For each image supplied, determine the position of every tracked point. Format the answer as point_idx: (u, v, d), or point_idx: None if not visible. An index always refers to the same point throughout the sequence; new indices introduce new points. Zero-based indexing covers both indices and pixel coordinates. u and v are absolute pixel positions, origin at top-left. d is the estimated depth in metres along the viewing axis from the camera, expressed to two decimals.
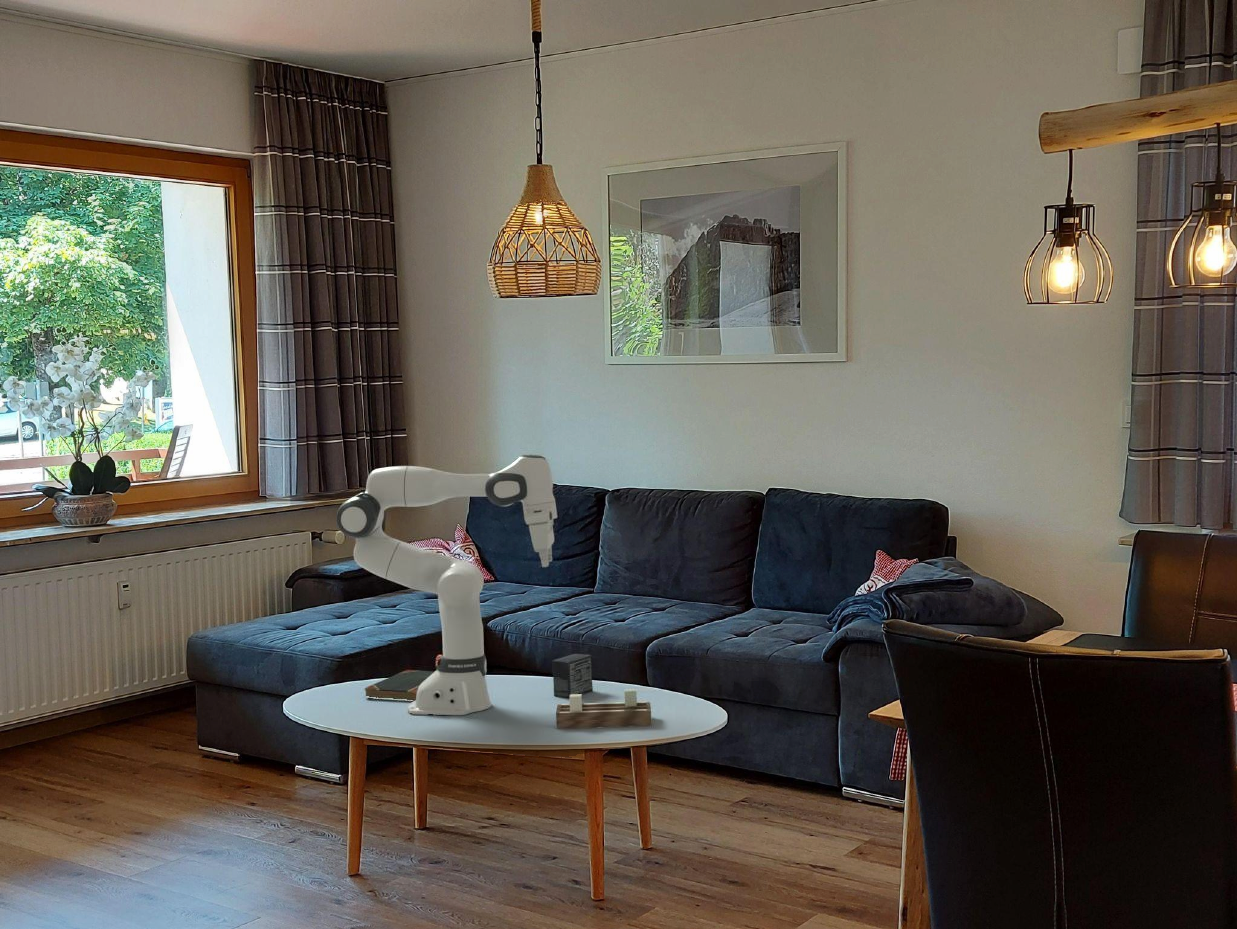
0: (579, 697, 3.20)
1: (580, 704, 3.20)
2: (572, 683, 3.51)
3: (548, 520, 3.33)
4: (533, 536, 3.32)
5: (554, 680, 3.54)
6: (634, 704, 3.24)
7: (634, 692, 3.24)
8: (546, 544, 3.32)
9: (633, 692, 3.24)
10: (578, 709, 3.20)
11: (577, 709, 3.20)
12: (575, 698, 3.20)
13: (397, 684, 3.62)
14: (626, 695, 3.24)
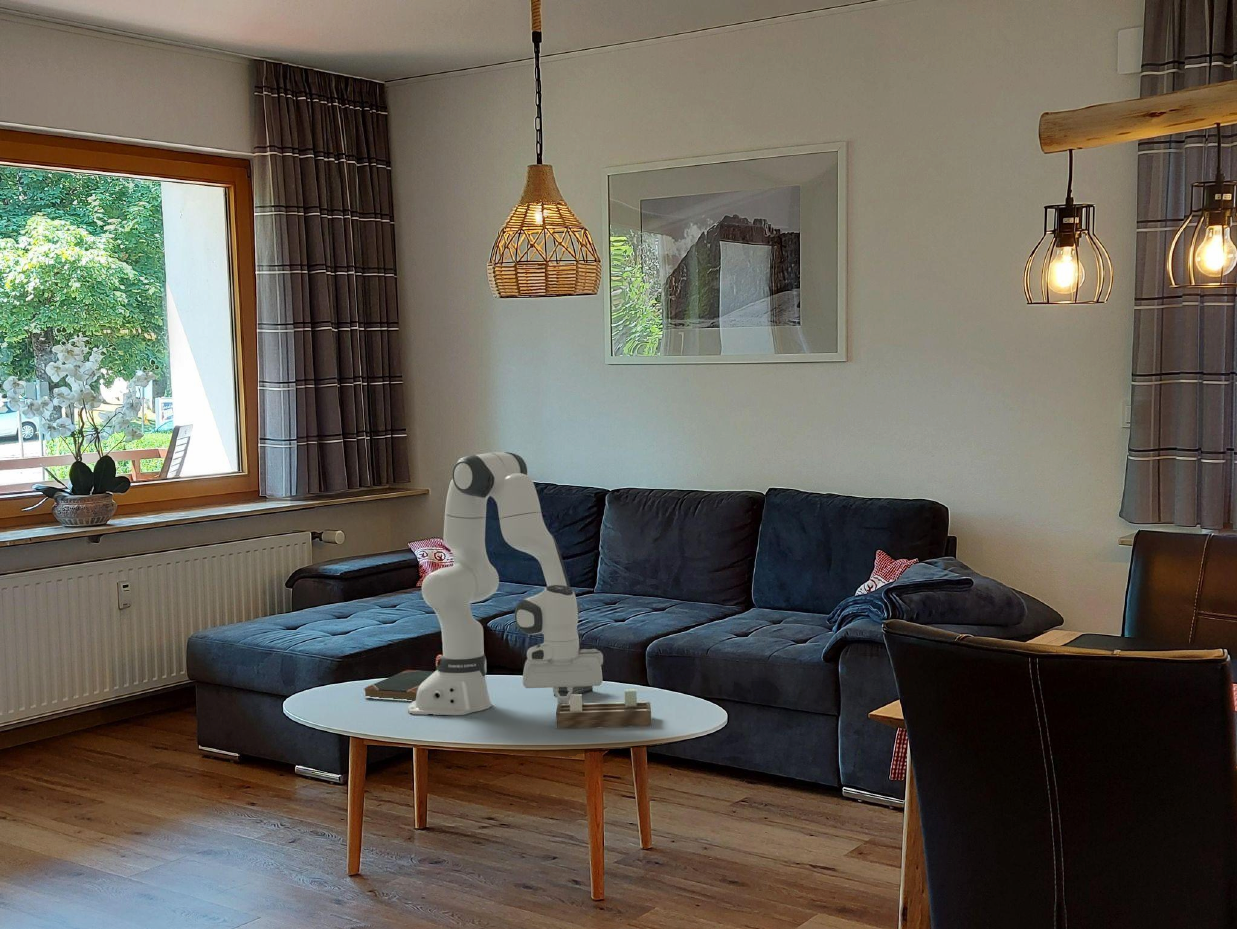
0: (579, 697, 3.20)
1: (580, 704, 3.20)
2: None
3: (528, 658, 3.18)
4: None
5: None
6: (634, 704, 3.24)
7: (634, 692, 3.24)
8: (523, 681, 3.19)
9: (633, 692, 3.24)
10: (578, 709, 3.20)
11: (577, 709, 3.20)
12: (575, 698, 3.20)
13: (397, 684, 3.62)
14: (626, 695, 3.24)
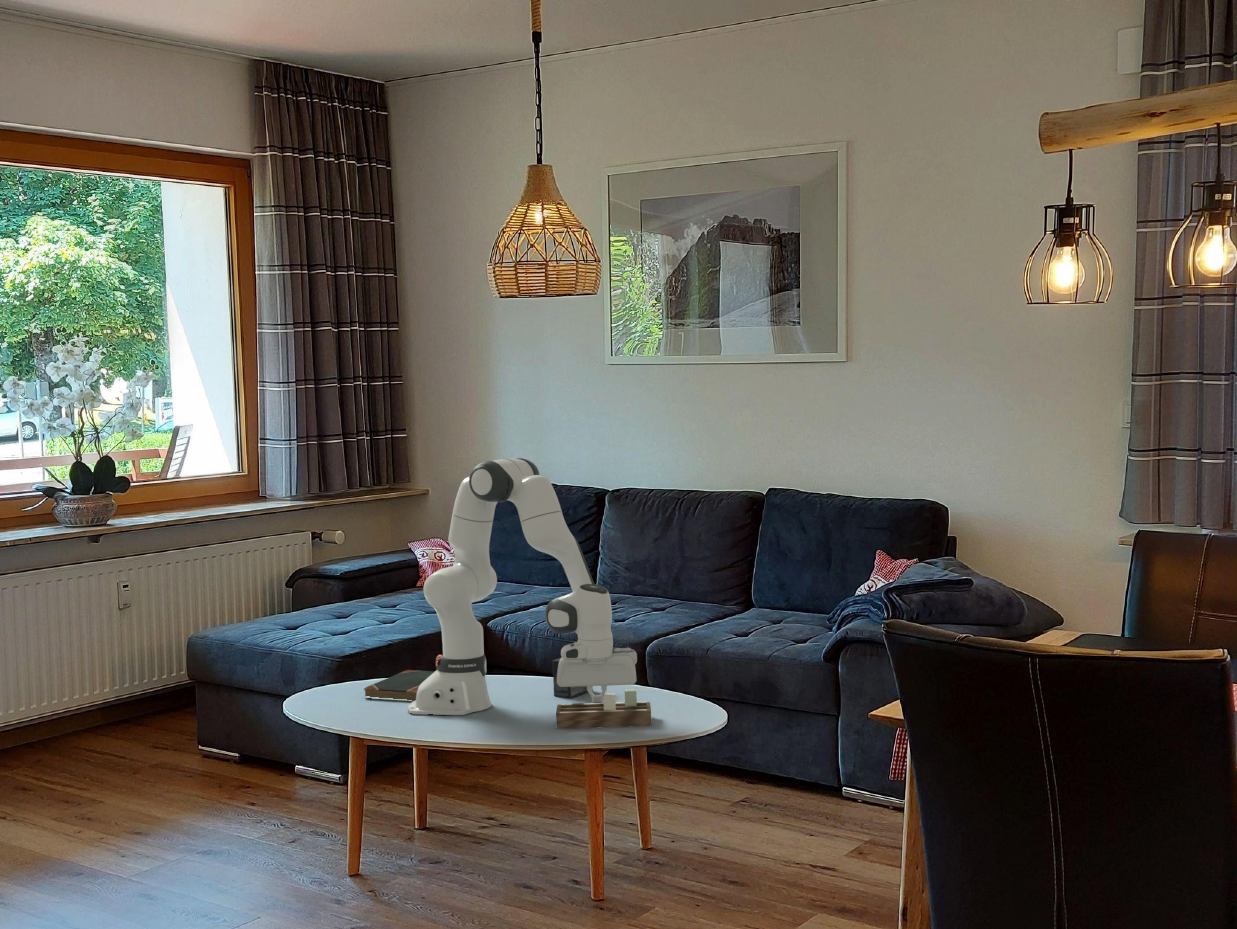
0: (613, 696, 3.20)
1: (614, 703, 3.20)
2: None
3: (562, 657, 3.18)
4: None
5: (554, 680, 3.54)
6: (634, 704, 3.24)
7: (634, 692, 3.24)
8: (557, 680, 3.19)
9: (633, 692, 3.24)
10: (612, 708, 3.20)
11: (611, 708, 3.20)
12: (609, 697, 3.20)
13: (396, 684, 3.62)
14: (626, 695, 3.24)
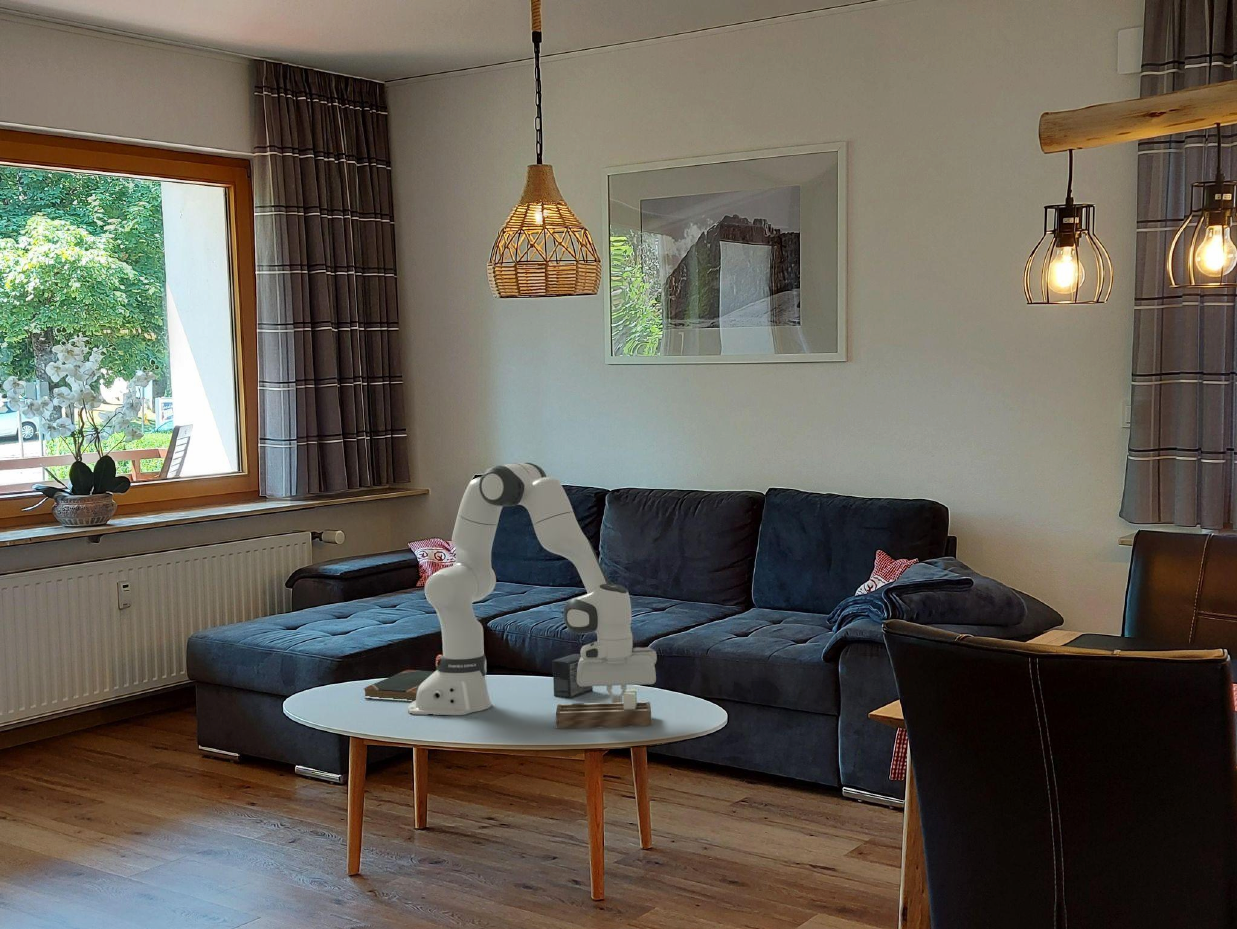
0: (633, 695, 3.20)
1: (634, 702, 3.20)
2: (572, 683, 3.51)
3: (582, 657, 3.18)
4: None
5: (554, 680, 3.54)
6: None
7: (634, 692, 3.24)
8: None
9: (633, 692, 3.24)
10: (632, 707, 3.20)
11: (631, 707, 3.20)
12: (629, 696, 3.20)
13: (396, 684, 3.62)
14: None
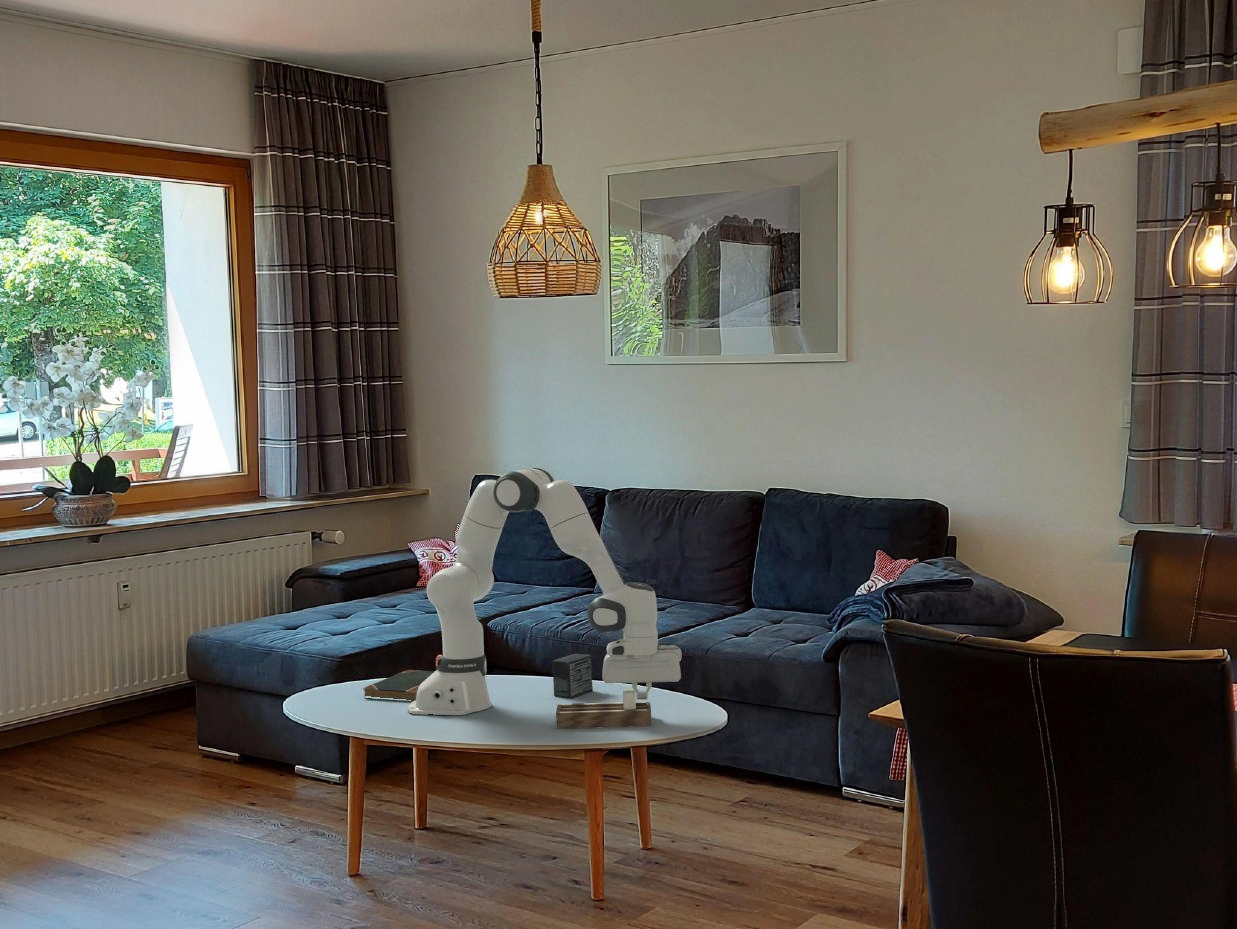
0: (633, 695, 3.20)
1: (634, 702, 3.20)
2: (572, 683, 3.51)
3: (608, 654, 3.22)
4: None
5: (554, 680, 3.54)
6: None
7: (632, 692, 3.24)
8: (602, 676, 3.24)
9: (631, 692, 3.24)
10: (632, 707, 3.20)
11: (631, 707, 3.20)
12: (629, 696, 3.20)
13: (396, 684, 3.62)
14: None
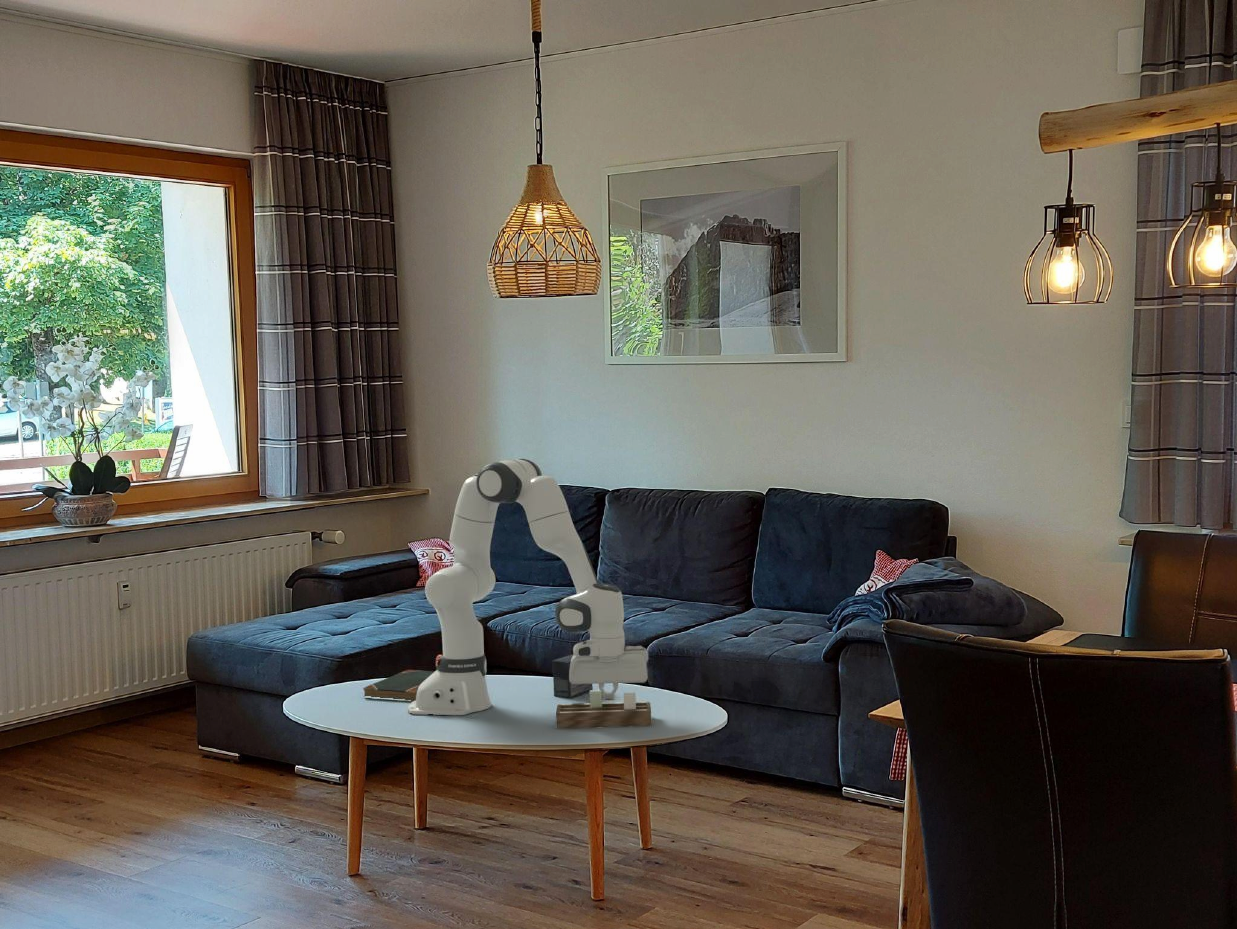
0: (633, 695, 3.20)
1: (634, 702, 3.20)
2: None
3: (574, 655, 3.22)
4: None
5: (554, 680, 3.54)
6: (599, 705, 3.24)
7: (599, 693, 3.24)
8: (569, 677, 3.24)
9: (598, 693, 3.24)
10: (632, 707, 3.20)
11: (631, 707, 3.20)
12: (629, 696, 3.20)
13: (396, 684, 3.62)
14: (591, 696, 3.24)
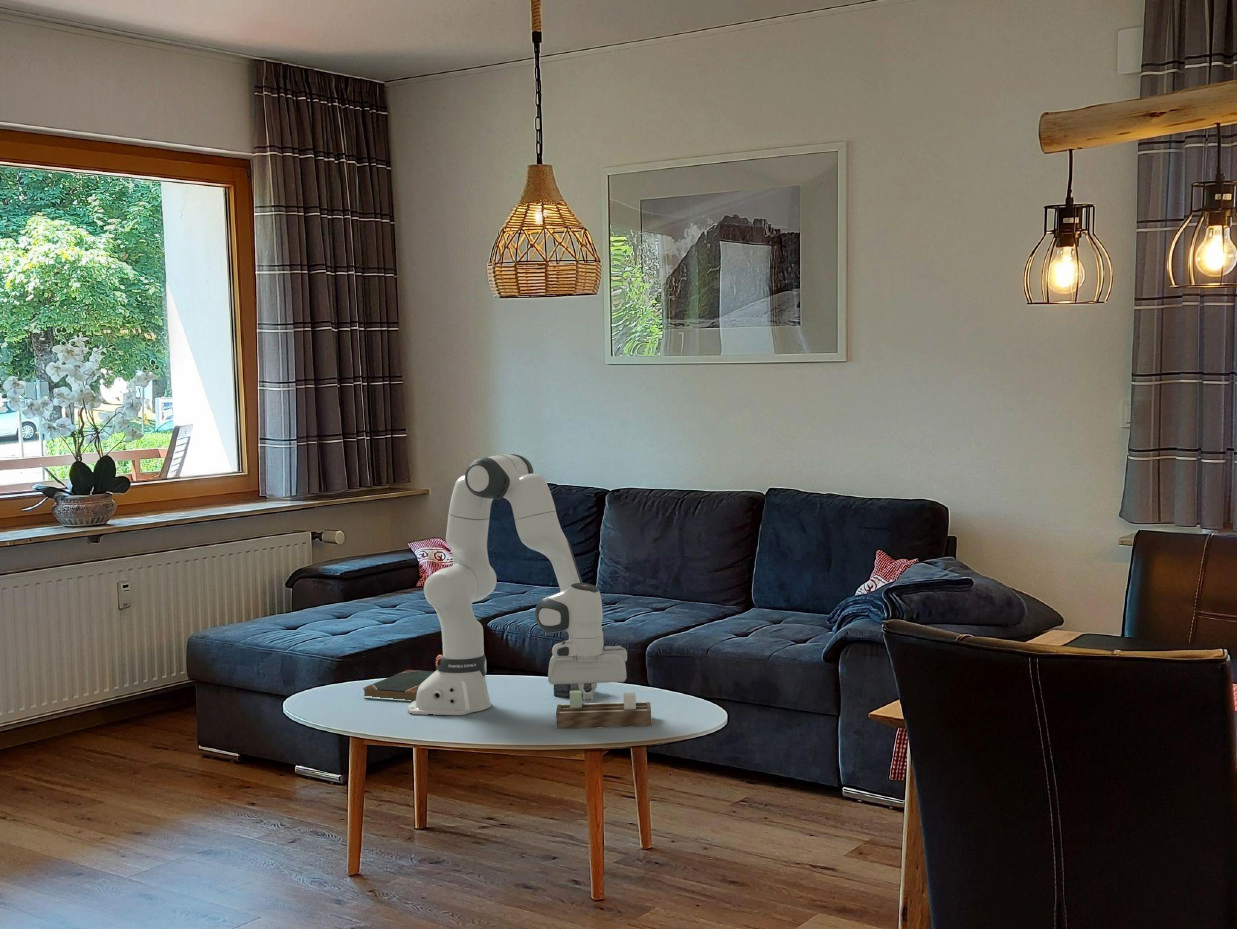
0: (633, 695, 3.20)
1: (634, 702, 3.20)
2: None
3: None
4: None
5: None
6: (579, 706, 3.24)
7: (579, 694, 3.24)
8: (548, 677, 3.24)
9: (578, 694, 3.24)
10: (632, 707, 3.20)
11: (631, 707, 3.20)
12: (629, 696, 3.20)
13: (396, 684, 3.62)
14: (571, 697, 3.24)
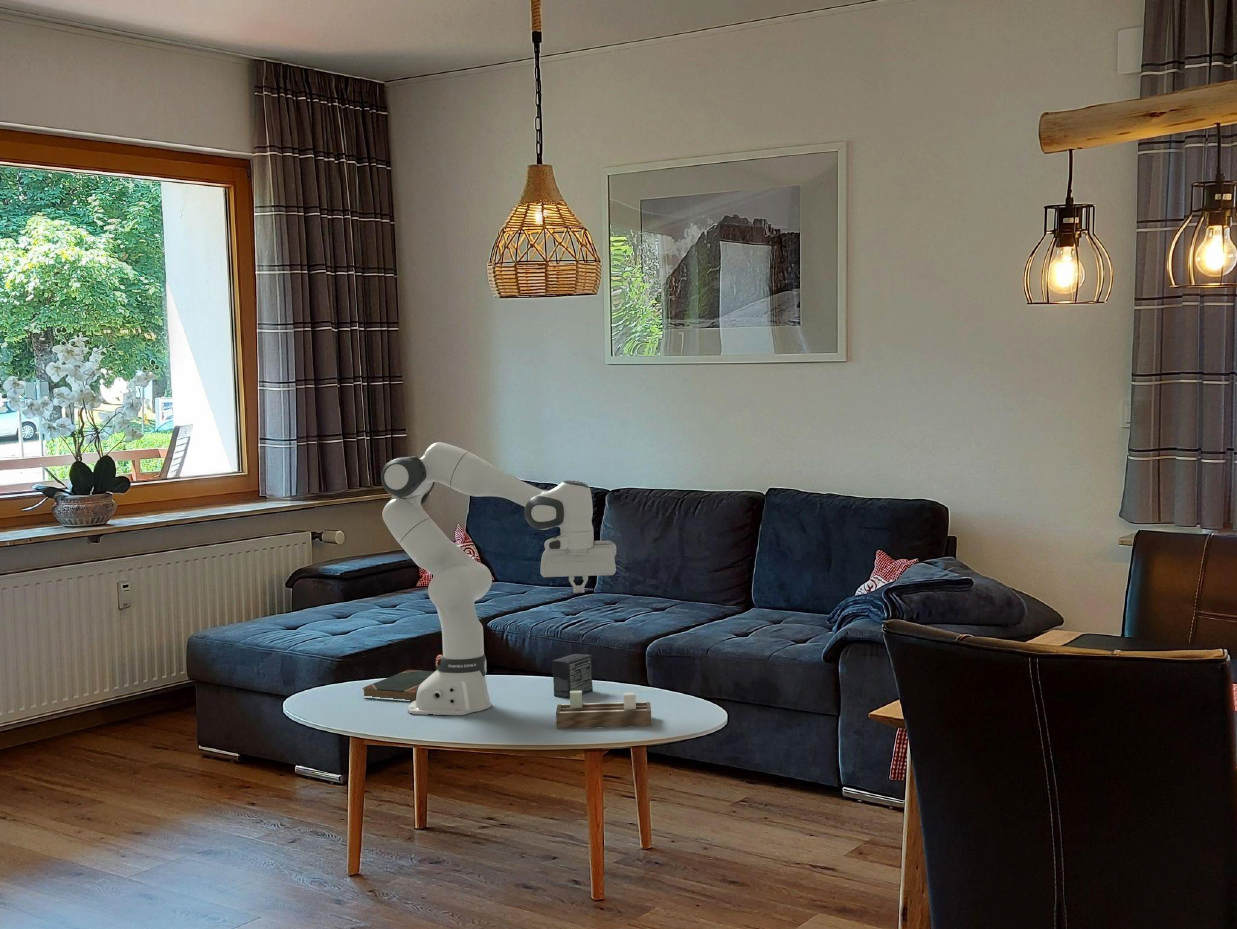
0: (633, 695, 3.20)
1: (634, 702, 3.20)
2: (572, 683, 3.51)
3: (545, 548, 3.35)
4: None
5: (554, 680, 3.54)
6: (579, 706, 3.24)
7: (579, 694, 3.24)
8: (540, 570, 3.37)
9: (578, 694, 3.24)
10: (632, 707, 3.20)
11: (631, 707, 3.20)
12: (629, 696, 3.20)
13: (395, 684, 3.62)
14: (571, 697, 3.24)
